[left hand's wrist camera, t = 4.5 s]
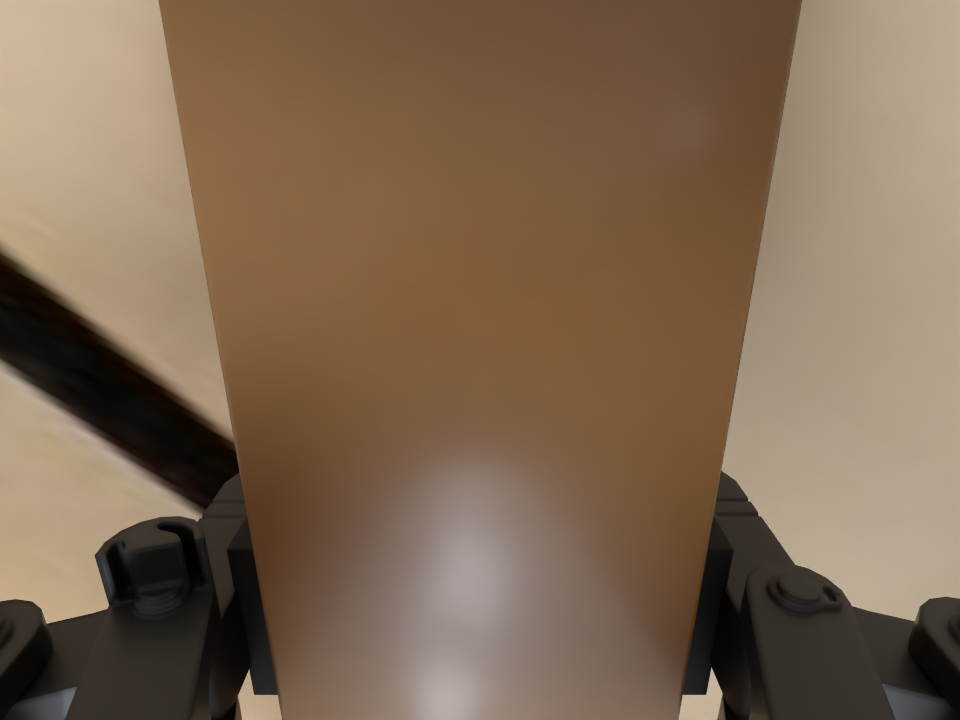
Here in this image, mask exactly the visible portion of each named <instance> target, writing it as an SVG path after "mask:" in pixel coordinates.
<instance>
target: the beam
mask: <svg viewBox="0 0 960 720" xmlns="http://www.w3.org/2000/svg"><path fill="white" fill-rule="evenodd" d="M801 3H802V0H159V5H160V11H161V16H162V22H163V28H164V34H165V40H166V45H167V51H168V57H169V63H170V69H171V75H172V80H173V86H174V92H175V98H176V104H177V110H178V115H179V121H180V127H181V133H182V139H183V145H184V150H185V156H186V162H187V168H188V174H189V179H190V185H191V191H192V197H193V203H194V209H195V214H196V220H197V226H198V232H199V238H200V244H201V249H202V255H203V261H204V267H205V273H206V278H207V284H208V290H209V296H210V302H211V308H212V313H213V319H214V325H215V331H216V337H217V343H218V348H219V354H220V360H221V366H222V372H223V377H224V383H225V389H226V395H227V401H228V407H229V412H230V418H231V424H232V430H233V436H234V442H235V447H236V453H237V459H238V465H239V471H240V477H241V482H242V488H243V494H244V500H245V506H246V511H247V517H248V523H249V529H250V535H251V541H252V546H253V552H254V558H255V564H256V570H257V576H258V581H259V587H260V593H261V599H262V605H263V610H264V616H265V622H266V628H267V634H268V640H269V645H270V651H271V657H272V663H273V669H274V675H275V680H276V686H277V692H278V698H279V704H280V710H281V715H282V720H678V718H679V712H680V706H681V701H682V695H683V689H684V683H685V677H686V671H687V666H688V660H689V654H690V648H691V642H692V637H693V631H694V625H695V619H696V613H697V608H698V602H699V596H700V590H701V584H702V578H703V573H704V567H705V561H706V555H707V549H708V544H709V538H710V532H711V526H712V520H713V515H714V509H715V503H716V497H717V491H718V485H719V480H720V474H721V468H722V462H723V456H724V451H725V445H726V439H727V433H728V427H729V422H730V416H731V410H732V404H733V398H734V392H735V387H736V381H737V375H738V369H739V363H740V358H741V352H742V346H743V340H744V334H745V329H746V323H747V317H748V311H749V305H750V299H751V294H752V288H753V282H754V276H755V270H756V265H757V259H758V253H759V247H760V241H761V235H762V230H763V224H764V218H765V212H766V206H767V201H768V195H769V189H770V183H771V177H772V172H773V166H774V160H775V154H776V148H777V142H778V137H779V131H780V125H781V119H782V113H783V108H784V102H785V96H786V90H787V84H788V79H789V73H790V67H791V61H792V55H793V49H794V44H795V38H796V32H797V26H798V20H799V15H800V9H801Z"/></svg>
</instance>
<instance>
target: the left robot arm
mask: <svg viewBox="0 0 960 720" xmlns="http://www.w3.org/2000/svg"><path fill="white" fill-rule="evenodd" d="M95 558H96V561H97V565H98V568H99V572H100V575H101V579H102V582H103V585H104V589H105V592H106V596H107V599H108V602H109V607H108V609H106V610H103V611H99V612H96V613H92V614H88V615H84V616H79V617H75V618H70V619H66V620H62V621H57V622H53V623H48V624H46V621H45V618H44V615H43V613H42V610H41V608H39V607H38V606H37V605H36V604H34V603H33V602H31V601H24V600H17V599H14V600H7V601H1V602H0V720H242V717H241V710H240V704H239V699H238V694H239V692H240V689H241V687H242V685H243V682H244V680H245V678H246V675H247V673H248V670H250V675H251V680H252V685H253V690H254V695H278V692H277V686H276V680H275V675H274V669H273V663H272V657H271V651H270V645H269V640H268V634H267V628H266V622H265V616H264V610H263V605H262V599H261V593H260V587H259V581H258V576H257V570H256V564H255V558H254V552H253V546H252V541H251V535H250V529H249V523H248V517H247V511H246V506H245V500H244V494H243V488H242V482H241V477H240V473H238V474H237V475H235V476H234V477H233V478H231V479H230V480H228V481H227V482H225V483H224V485H223V486H222V488H221V489H220V491H219V492H218V493H217V495H216V496H215V498H214V499H213V503H212V504H210V505H209V506H208V508H207V509H206V511H205V512H204V513H203V517H202V518H200V519H199V521H198V522H196V521H195V520H193V519H189V518H185V517H181V516H175V517H159V518H155V519H151V520H147V521H143V522H140V523H138V524H135V525H133V526H131V527H129V528H126V529H124V530H122V531H120V532H119V533H117V534H116V535H115V536H113V537H112V538H110V539H109V540H108V541H106V542H105V543H104V544H103V545H102V547H101V548H100V549H99V551H98V552H97V553H96V555H95ZM711 667H712V669H713V671H714V674H715V676H716V678H717V681H718V683H719V685H720V688H721V690H722V693H723V695H722V699H721V704H720V709H719V714H718V719H717V720H960V599H957V598H950V597H941V598H934V599H929V600H928V601H926V602H925V603H924V604H923V605H921V606H920V608H919V611H918V614H917V617H916V620H915V622H914V621H910V620H905V619H901V618H897V617H892V616H888V615H883V614H879V613H875V612H870V611H866V610H863V609H859V608H856V607H853V606H851V604H850V602H849V601H848V599H847V598H846V596H845V595H844V593H843V592H842V590H841V589H839V588H838V587H837V586H836V585H834V584H833V583H832V582H831V581H830V580H828V579H827V578H825V577H823V576H822V575H820V574H818V573H816V572H814V571H812V570H810V569H808V568H804V567H800V566H797V565H795V564H794V563H793V561H792V560H791V558H790V557H789V556H788V554H787V553H786V551H785V550H784V548H783V547H782V546H781V544H780V543H779V541H778V540H777V539H776V537H775V536H774V534H773V533H772V531H771V530H770V529H769V527H768V526H767V524H766V523H765V522H764V520H763V519H762V517H761V516H758V512H757V510H756V509H755V507H754V506H753V505H752V503H751V502H748V498H747V496H746V495H745V493H744V492H743V490H742V489H741V488H740V486H739V485H738V483H737V482H736V481H735V480H734V479H732V478H731V477H729V476H728V475H727V474H725V473H724V472H722V471H721V474H720V480H719V485H718V491H717V497H716V503H715V509H714V515H713V520H712V526H711V532H710V538H709V544H708V549H707V555H706V561H705V567H704V573H703V578H702V584H701V590H700V596H699V602H698V608H697V613H696V619H695V625H694V631H693V637H692V642H691V648H690V654H689V660H688V666H687V671H686V677H685V683H684V689H683V695H706V692H707V687H708V682H709V677H710V672H711Z"/></svg>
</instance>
